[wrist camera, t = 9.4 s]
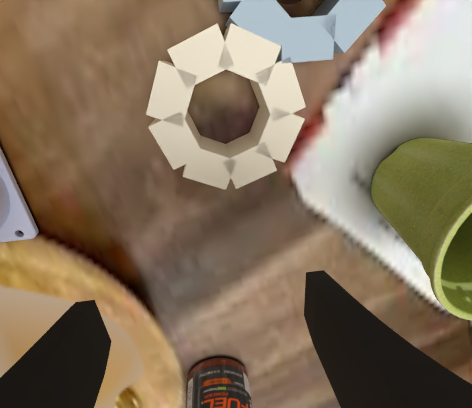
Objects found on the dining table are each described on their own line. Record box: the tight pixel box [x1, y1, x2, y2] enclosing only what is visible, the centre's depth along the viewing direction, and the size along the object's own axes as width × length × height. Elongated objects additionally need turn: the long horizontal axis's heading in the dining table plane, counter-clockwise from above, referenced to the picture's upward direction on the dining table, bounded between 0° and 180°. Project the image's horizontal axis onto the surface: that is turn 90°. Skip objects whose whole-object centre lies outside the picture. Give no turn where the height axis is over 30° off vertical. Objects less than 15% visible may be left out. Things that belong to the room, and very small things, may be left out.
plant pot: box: [371, 138, 472, 320], centre depth 17 cm, size 9×9×9 cm
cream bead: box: [146, 23, 306, 190], centre depth 16 cm, size 8×8×3 cm
